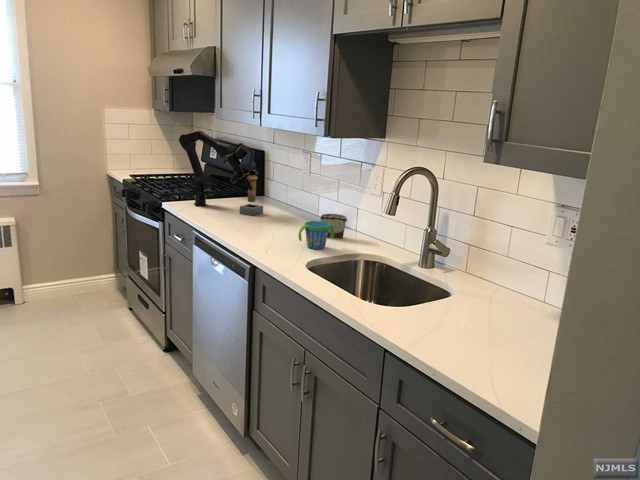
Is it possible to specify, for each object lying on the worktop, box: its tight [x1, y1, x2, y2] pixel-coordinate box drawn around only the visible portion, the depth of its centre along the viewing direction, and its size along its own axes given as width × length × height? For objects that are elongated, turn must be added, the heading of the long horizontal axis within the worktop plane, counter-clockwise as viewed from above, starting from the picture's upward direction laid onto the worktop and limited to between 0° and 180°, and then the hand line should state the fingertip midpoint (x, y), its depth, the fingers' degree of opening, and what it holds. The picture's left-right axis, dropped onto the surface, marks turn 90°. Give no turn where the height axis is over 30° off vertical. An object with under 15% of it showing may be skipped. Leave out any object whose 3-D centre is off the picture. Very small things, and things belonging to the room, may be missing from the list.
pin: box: [247, 175, 259, 203], centre depth 261 cm, size 5×5×13 cm
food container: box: [319, 213, 348, 240], centre depth 228 cm, size 12×6×10 cm, turn 84°
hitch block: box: [239, 203, 264, 217], centre depth 264 cm, size 9×9×4 cm
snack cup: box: [298, 220, 335, 250], centre depth 209 cm, size 16×10×10 cm
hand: (254, 189), depth 260 cm, fingers closed on pin, 4 cm apart
